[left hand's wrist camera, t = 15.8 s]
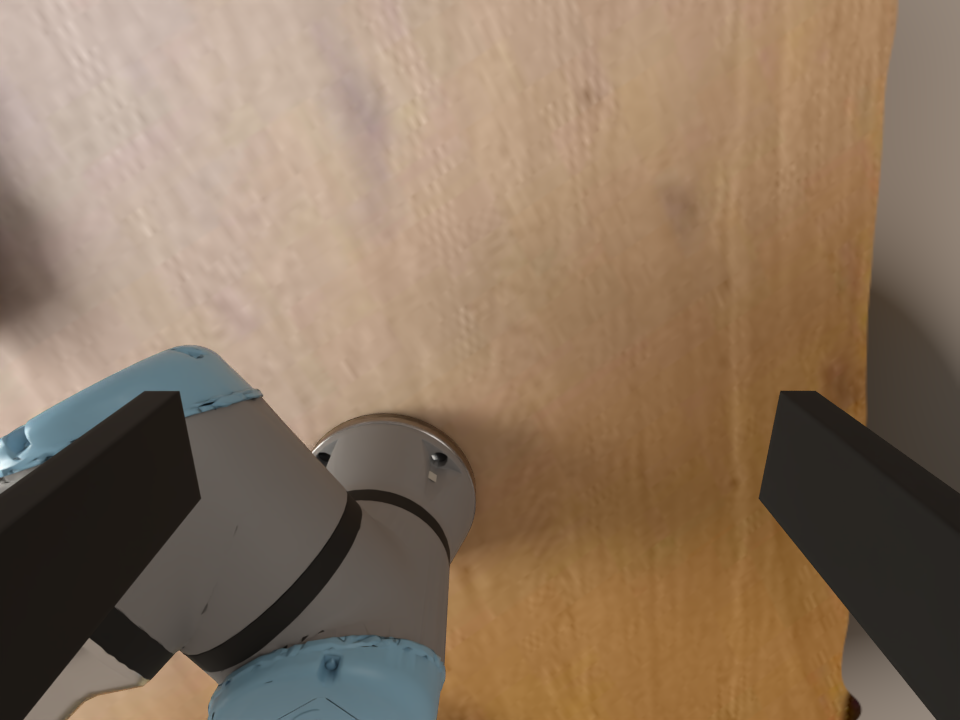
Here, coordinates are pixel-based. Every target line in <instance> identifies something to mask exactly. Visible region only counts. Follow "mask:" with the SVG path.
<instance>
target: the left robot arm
mask: <svg viewBox="0 0 960 720" xmlns="http://www.w3.org/2000/svg"><path fill="white" fill-rule="evenodd" d="M262 397H263V394H262V393H261V392H260V391H259V390H258V389H253V388H252V387H251V386H250V385H249V384H248V383H247V382H246V381H245V380H244V379H243V378H242V377H241V376H240V375H239V374H238V373H237V372H236V371H234V370H233V369H232V368H231V367H230V366H229V365H228V364H227V363H226V362H225V361H224V360H223V359H222V358H221V357H220V356H219V355H218V354H217V353H215V352H214V351H212V350H210V349H208V348H205V347H201V346H196V345H185V346H178V347H174V348H171V349H168V350H165V351H163V352H160V353H158V354H155V355H153V356H151V357H149V358H146V359H144V360H142V361H140V362H137V363H135V364H133V365H131V366H129V367H127V368H125V369H123V370H121V371H119V372H117V373H115V374H113V375H111V376H109V377H107V378H105V379H103V380H101V381H99V382H97V383H95V384H93V385H92V386H90V387H88V388H86V389H84V390H82V391H80V392H78V393H76V394H75V395H73V396H71V397H69V398H67V399H65V400H64V401H62V402H60V403H58V404H56V405H55V406H53V407H51V408H49V409H47V410H46V411H44V412H42V413H41V414H39V415H37V416H36V417H34V418H32V419H31V420H29V421H28V422H27V423H26V424H25V425H23V426H20V427H19V428H17V429H15V430H14V431H12V432H11V433H9V434H8V435H6V436H4V437H2V438H0V720H68V719H69V718H70V717H71V716H72V714H73V713H74V712H75V711H76V710H77V709H78V708H79V707H80V706H81V705H82V704H83V703H84V702H85V701H87V700H89V699H91V698H94V697H96V696H98V695H103V694H108V693H113V692H118V691H123V690H128V689H133V688H138V687H143V686H144V685H145V684H146V683H148V682H149V681H150V680H151V679H152V678H153V677H154V676H155V675H156V674H157V672H158V671H159V670H160V669H161V668H162V667H163V666H164V665H165V664H166V663H167V662H168V661H169V659H170V658H171V657H172V656H173V655H174V654H175V653H176V652H177V651H179V650H180V651H181V652H182V653H183V654H184V655H186V656H187V657H188V658H190V659H191V660H192V661H193V662H194V663H195V664H197V665H198V666H199V667H200V668H201V669H202V670H204V671H205V672H206V673H207V674H208V675H209V676H210V677H212V678H213V679H214V680H215V681H216V682H217V683H218V684H219V685H218V687H217V689H216V690H215V692H214V694H213V695H212V697H211V700H210V703H209V706H208V713H209V717H208V720H436V719H437V712H438V705H439V698H440V691H441V690H442V686H443V683H444V681H445V666H444V662H445V643H446V625H447V606H448V587H449V568H450V563H451V562H452V560H453V558H454V557H455V555H456V553H457V551H458V550H459V548H460V546H461V545H462V543H463V541H464V540H465V538H466V536H467V534H468V532H469V530H470V528H471V525H472V522H473V519H474V514H475V504H476V488H475V480H474V475H473V472H472V469H471V467H470V464H469V462H468V460H467V458H466V457H465V455H464V454H463V452H462V451H461V449H460V448H459V447H458V446H457V445H456V443H455V442H454V441H452V440H451V439H450V438H449V437H448V436H447V435H446V434H444V433H443V432H442V431H440V430H439V429H437V428H436V427H434V426H432V425H430V424H428V423H426V422H423V421H421V420H418V419H415V418H412V417H408V416H403V415H397V414H372V415H365V416H361V417H357V418H354V419H351V420H349V421H346V422H344V423H342V424H340V425H338V426H337V427H335V428H333V429H332V430H331V431H329V432H328V433H327V434H326V435H325V436H323V437H322V438H321V439H320V441H319V442H318V443H317V444H316V445H315V447H314V448H313V450H312V451H310V450H309V449H308V448H307V447H306V446H305V445H304V444H303V442H302V441H301V440H300V439H299V438H298V437H297V436H296V435H295V434H294V433H293V432H292V431H291V429H290V428H289V427H288V426H287V425H286V424H285V423H284V422H283V421H282V420H281V418H280V417H279V416H278V415H277V414H276V413H275V412H274V411H273V409H272V408H271V407H270V406H269V405H268V404H267V403H266V402H265V400H264V399H263V398H262ZM759 499H760V501H761V502H762V503H763V504H764V506H765V507H766V508H767V509H768V511H769V512H770V513H771V514H772V516H773V517H774V518H775V519H776V521H777V522H778V523H779V524H780V526H781V527H782V528H783V529H784V531H785V532H786V533H787V534H788V536H789V537H790V538H791V539H792V541H793V542H794V543H795V544H796V546H797V547H798V548H799V549H800V550H801V552H802V553H803V554H804V555H805V557H806V558H807V559H808V560H809V562H810V563H811V564H812V565H813V567H814V568H815V569H816V570H817V572H818V573H819V574H820V575H821V577H822V578H823V579H824V580H825V582H826V583H827V584H828V585H829V587H830V588H831V589H832V590H833V592H834V593H835V594H836V595H837V597H838V598H839V599H840V600H841V601H842V603H843V604H844V605H845V606H846V608H847V609H848V610H849V611H850V613H851V614H852V615H853V616H854V618H855V619H856V620H857V621H858V623H859V624H860V625H861V626H862V628H863V629H864V630H865V631H866V633H867V634H868V635H869V636H870V638H871V639H872V640H873V641H874V643H875V644H876V645H877V646H878V648H879V649H880V650H881V651H882V652H883V654H884V655H885V656H886V657H887V659H888V660H889V661H890V662H891V664H892V665H893V666H894V667H895V669H896V670H897V671H898V672H899V674H900V675H901V676H902V677H903V679H904V680H905V681H906V682H907V684H908V685H909V686H910V687H911V689H912V690H913V691H914V692H915V693H916V695H917V696H918V697H919V698H920V700H921V701H922V702H923V704H924V705H925V706H926V707H927V709H928V710H929V711H930V712H931V713H932V715H933V716H934V717H935V718H936V720H960V494H959V493H958V492H957V491H955V490H954V489H952V488H951V487H949V486H948V485H947V484H945V483H944V482H942V481H941V480H940V479H938V478H937V477H935V476H934V475H933V474H931V473H930V472H928V471H927V470H926V469H924V468H923V467H921V466H920V465H919V464H917V463H916V462H914V461H913V460H912V459H910V458H909V457H907V456H906V455H905V454H903V453H902V452H900V451H899V450H898V449H896V448H895V447H893V446H892V445H891V444H889V443H888V442H886V441H885V440H884V439H882V438H881V437H879V436H878V435H877V434H875V433H874V432H872V431H871V430H870V429H868V428H867V427H865V426H864V425H863V424H861V423H860V422H858V421H857V420H856V419H854V418H853V417H851V416H850V415H849V414H847V413H846V412H844V411H843V410H842V409H840V408H839V407H837V406H836V405H835V404H833V403H832V402H830V401H829V400H828V399H826V398H825V397H823V396H822V395H821V394H819V393H818V392H816V391H780V395H779V400H778V405H777V410H776V415H775V420H774V425H773V430H772V435H771V440H770V445H769V450H768V455H767V460H766V465H765V470H764V475H763V480H762V485H761V490H760V495H759Z"/></svg>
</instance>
